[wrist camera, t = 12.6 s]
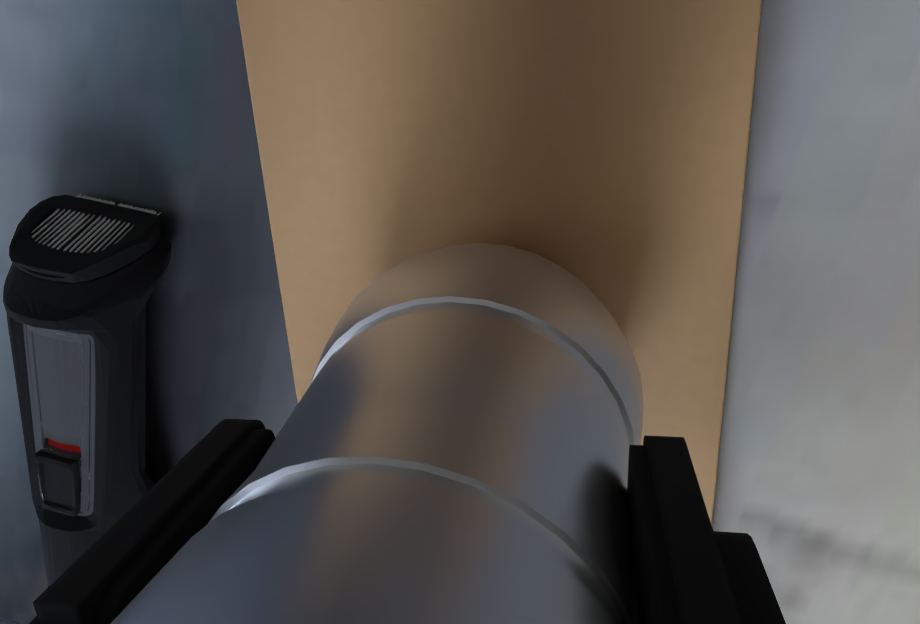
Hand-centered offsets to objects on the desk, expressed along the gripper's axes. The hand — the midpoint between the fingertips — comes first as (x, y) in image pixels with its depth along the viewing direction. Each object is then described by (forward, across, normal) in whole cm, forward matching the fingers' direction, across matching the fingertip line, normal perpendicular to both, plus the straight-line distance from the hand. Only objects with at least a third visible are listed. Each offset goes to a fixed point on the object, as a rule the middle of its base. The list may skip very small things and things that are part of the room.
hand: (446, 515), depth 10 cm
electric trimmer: (+7, +11, +4) cm, 14 cm away
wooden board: (+7, 0, 0) cm, 7 cm away
